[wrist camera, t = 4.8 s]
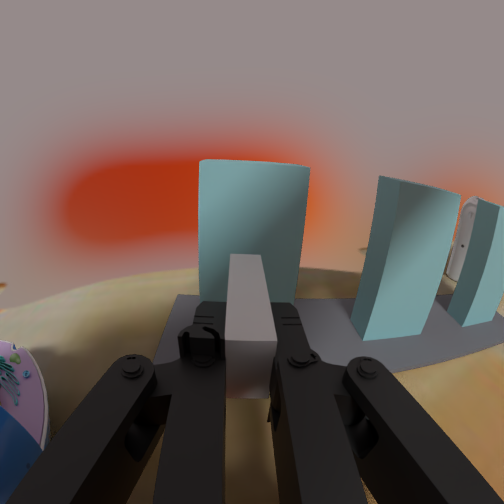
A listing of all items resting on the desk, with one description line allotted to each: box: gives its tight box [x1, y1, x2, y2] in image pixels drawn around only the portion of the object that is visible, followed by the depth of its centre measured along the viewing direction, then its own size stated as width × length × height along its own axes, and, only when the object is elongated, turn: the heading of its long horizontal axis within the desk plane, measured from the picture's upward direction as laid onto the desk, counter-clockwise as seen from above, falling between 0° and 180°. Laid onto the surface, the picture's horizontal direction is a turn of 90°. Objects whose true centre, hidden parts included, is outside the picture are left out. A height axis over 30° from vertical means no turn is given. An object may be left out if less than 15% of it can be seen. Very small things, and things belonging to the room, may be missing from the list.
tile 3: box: [198, 159, 310, 305], centre depth 18 cm, size 6×3×12 cm, turn 92°
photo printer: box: [446, 196, 484, 282], centre depth 31 cm, size 10×4×12 cm, turn 123°
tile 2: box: [350, 176, 461, 341], centre depth 18 cm, size 6×3×12 cm, turn 92°
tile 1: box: [447, 199, 504, 327], centre depth 19 cm, size 6×3×12 cm, turn 92°
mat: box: [153, 294, 504, 373], centre depth 20 cm, size 36×10×1 cm, turn 92°
